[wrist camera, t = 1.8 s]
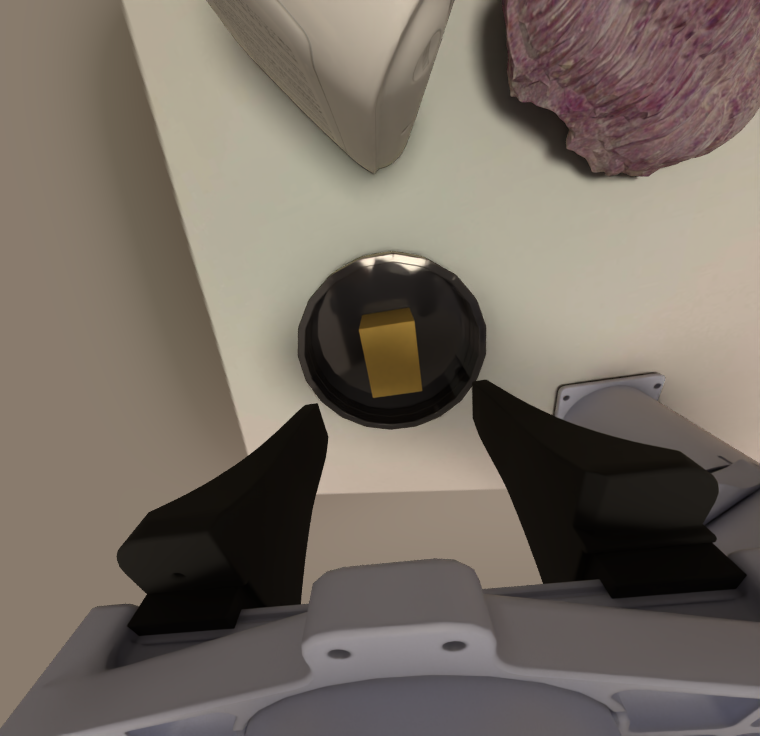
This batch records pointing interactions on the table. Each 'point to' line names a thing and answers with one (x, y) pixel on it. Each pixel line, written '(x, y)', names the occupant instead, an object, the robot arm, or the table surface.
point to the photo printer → (346, 63)
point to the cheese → (391, 352)
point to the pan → (433, 332)
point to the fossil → (638, 75)
